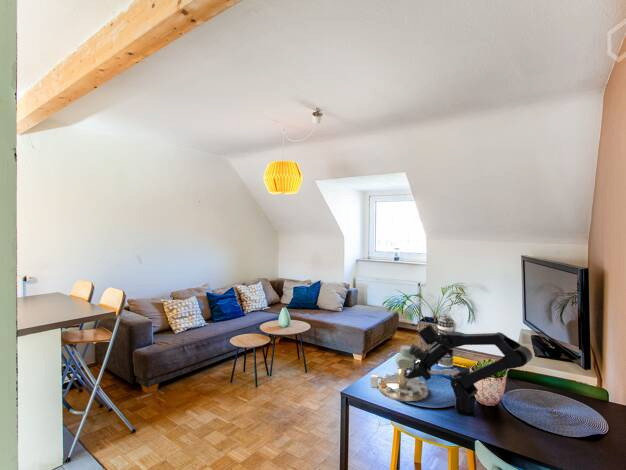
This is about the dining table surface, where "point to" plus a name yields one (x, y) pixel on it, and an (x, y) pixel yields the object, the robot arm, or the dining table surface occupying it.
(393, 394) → the sprocket base
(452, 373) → the caliper
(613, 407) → the dining table surface
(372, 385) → the pointer post
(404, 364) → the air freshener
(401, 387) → the sprocket
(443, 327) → the decorative candle
